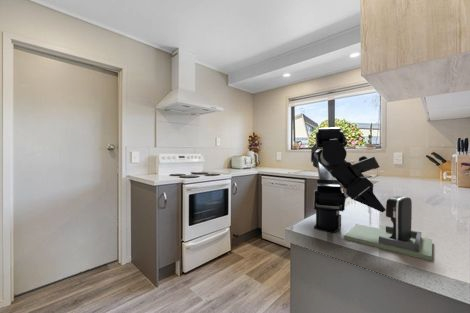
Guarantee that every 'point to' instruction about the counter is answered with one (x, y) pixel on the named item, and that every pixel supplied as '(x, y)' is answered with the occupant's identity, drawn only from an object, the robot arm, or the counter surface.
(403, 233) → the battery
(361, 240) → the mounting plate
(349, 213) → the counter surface
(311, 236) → the counter surface
